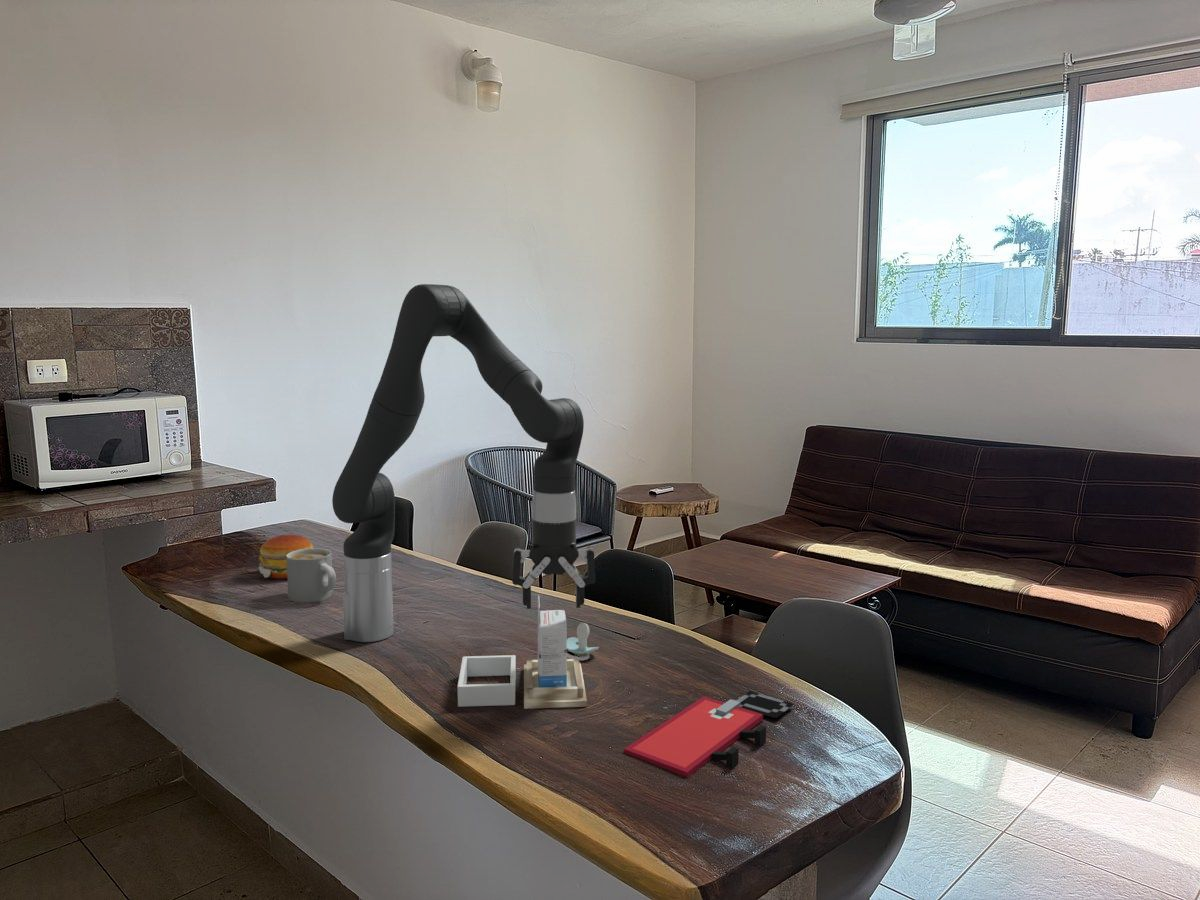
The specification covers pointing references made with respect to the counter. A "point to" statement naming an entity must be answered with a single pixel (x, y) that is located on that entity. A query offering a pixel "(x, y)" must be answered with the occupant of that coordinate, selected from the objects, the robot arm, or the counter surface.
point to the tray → (554, 688)
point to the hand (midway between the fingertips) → (553, 607)
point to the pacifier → (580, 644)
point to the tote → (487, 692)
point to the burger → (279, 554)
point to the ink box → (552, 648)
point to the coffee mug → (310, 575)
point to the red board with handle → (707, 732)
